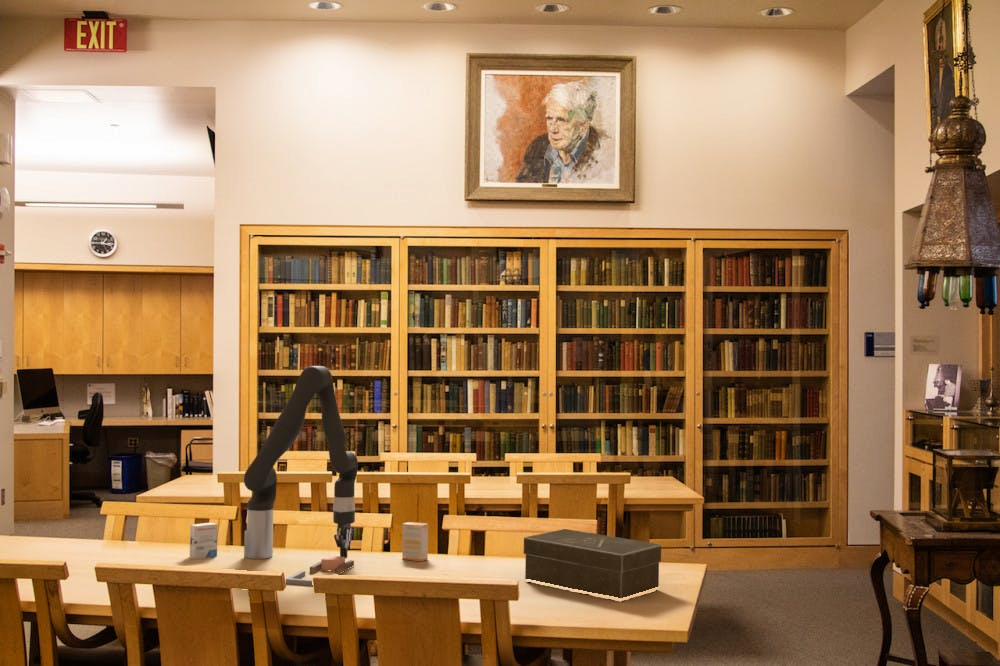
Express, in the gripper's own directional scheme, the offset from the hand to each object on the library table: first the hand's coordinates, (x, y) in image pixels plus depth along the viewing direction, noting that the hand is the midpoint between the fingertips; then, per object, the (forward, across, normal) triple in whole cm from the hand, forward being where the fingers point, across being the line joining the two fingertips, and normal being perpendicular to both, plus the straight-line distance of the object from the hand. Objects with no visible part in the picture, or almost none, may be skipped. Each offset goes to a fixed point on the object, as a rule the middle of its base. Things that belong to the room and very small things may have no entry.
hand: (343, 558), depth 358 cm
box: (+3, +8, +89) cm, 89 cm away
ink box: (+2, +4, -52) cm, 52 cm away
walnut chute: (+2, +10, 0) cm, 10 cm away
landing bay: (+2, +26, 0) cm, 27 cm away
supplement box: (+2, -14, +22) cm, 26 cm away
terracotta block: (+2, +9, 0) cm, 9 cm away
